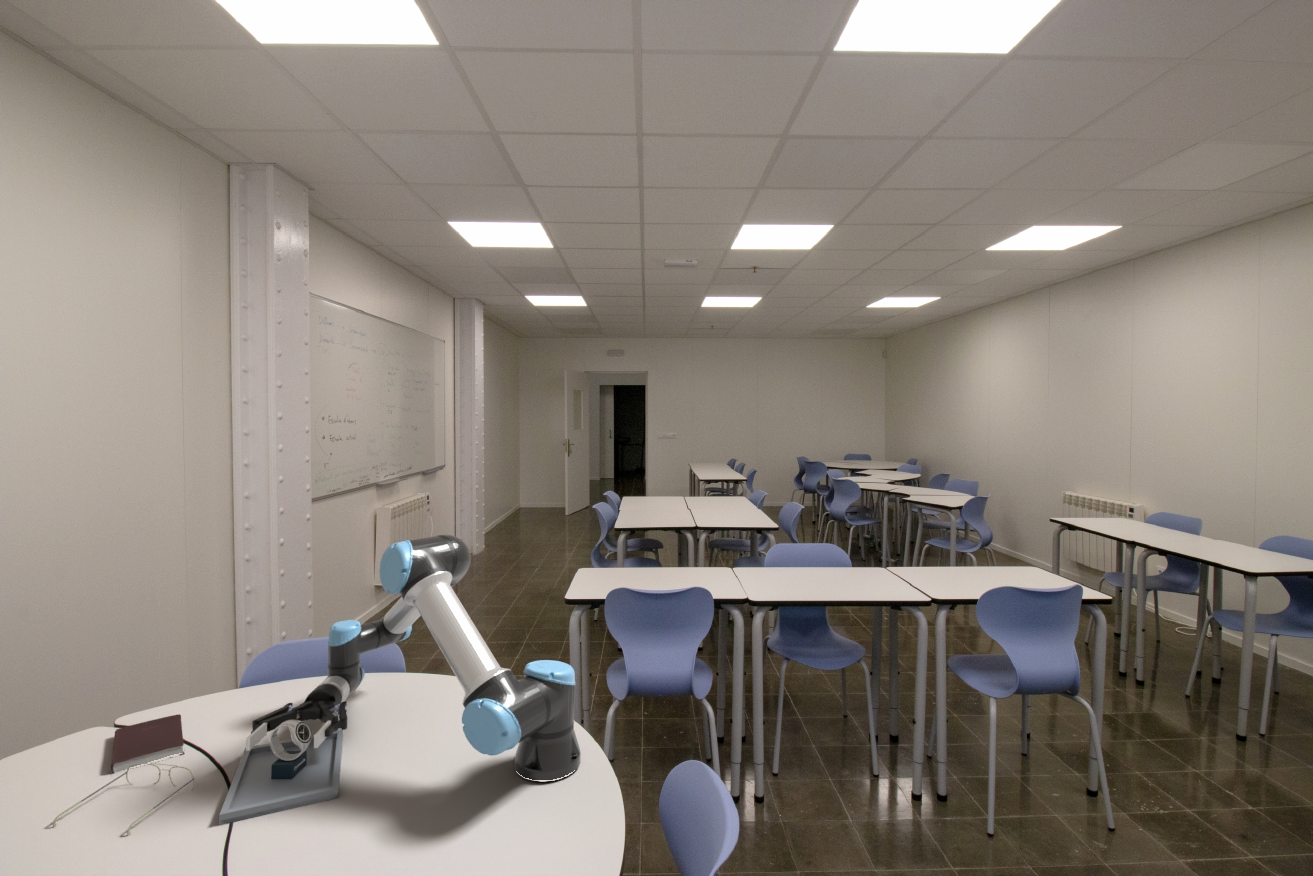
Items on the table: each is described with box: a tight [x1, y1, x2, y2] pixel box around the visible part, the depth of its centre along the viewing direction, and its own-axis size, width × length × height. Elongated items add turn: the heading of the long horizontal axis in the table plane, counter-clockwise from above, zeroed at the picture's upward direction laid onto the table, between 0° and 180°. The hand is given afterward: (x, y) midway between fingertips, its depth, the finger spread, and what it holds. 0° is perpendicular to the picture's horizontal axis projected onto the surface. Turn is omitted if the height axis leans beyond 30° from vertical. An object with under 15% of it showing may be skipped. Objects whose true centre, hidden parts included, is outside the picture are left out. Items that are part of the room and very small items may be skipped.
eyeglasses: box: [52, 762, 195, 837], centre depth 114 cm, size 16×15×5 cm
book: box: [110, 713, 185, 775], centre depth 136 cm, size 12×19×3 cm, turn 41°
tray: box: [218, 729, 344, 826], centre depth 126 cm, size 26×20×2 cm
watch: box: [268, 720, 313, 779], centre depth 126 cm, size 6×8×11 cm
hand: (282, 743), depth 122 cm, fingers open, 13 cm apart
